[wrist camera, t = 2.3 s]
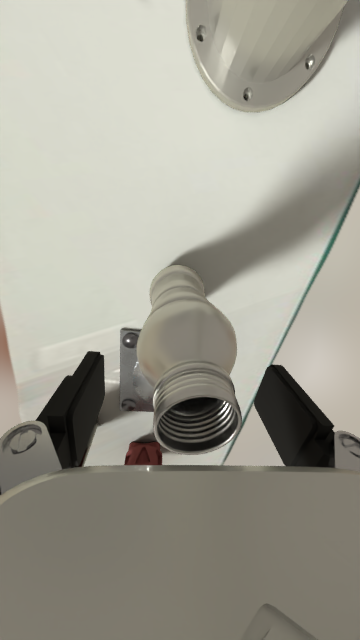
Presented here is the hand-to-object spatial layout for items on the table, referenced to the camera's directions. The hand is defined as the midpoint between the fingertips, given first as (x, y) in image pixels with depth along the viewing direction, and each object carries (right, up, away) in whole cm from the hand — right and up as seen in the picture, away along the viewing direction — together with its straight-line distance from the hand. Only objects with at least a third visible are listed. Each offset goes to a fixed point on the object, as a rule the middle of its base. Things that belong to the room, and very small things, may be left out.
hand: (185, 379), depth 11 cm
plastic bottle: (-1, +8, +15) cm, 17 cm away
